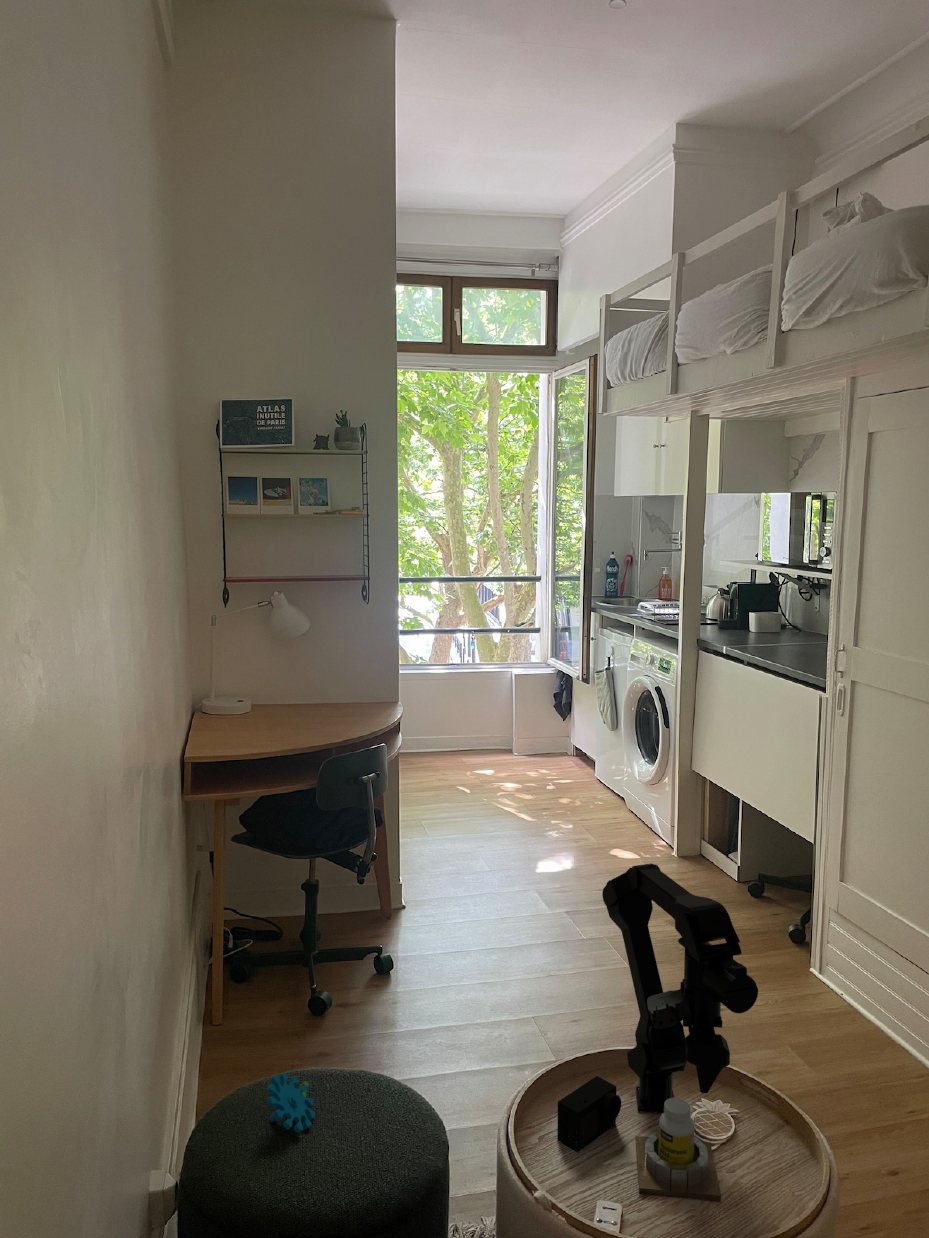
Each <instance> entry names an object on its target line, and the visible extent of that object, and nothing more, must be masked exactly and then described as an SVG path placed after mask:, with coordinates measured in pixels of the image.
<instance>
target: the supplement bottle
mask: <svg viewBox="0 0 929 1238" xmlns="http://www.w3.org/2000/svg"><path fill="white" fill-rule="evenodd" d="M658 1123H659V1124H658V1131H659V1149H658V1156H659V1157H660V1158H661V1159H662V1160H664V1161H667V1162H669V1163H671V1164H676V1165H688V1164H691V1163H694V1136H695V1129H696V1128H695V1121H694V1119H693V1117H691V1106H690V1104H689V1102H688V1101H687V1100H685V1099H682V1098H680V1097H678V1098H677V1097H674V1098H670V1099H667V1100H666V1101H665V1103H664V1113H661V1115H660V1117H659V1121H658Z"/></svg>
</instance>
